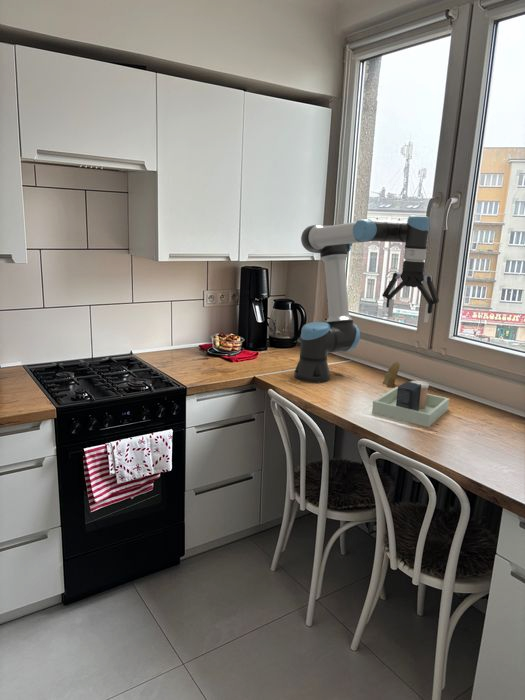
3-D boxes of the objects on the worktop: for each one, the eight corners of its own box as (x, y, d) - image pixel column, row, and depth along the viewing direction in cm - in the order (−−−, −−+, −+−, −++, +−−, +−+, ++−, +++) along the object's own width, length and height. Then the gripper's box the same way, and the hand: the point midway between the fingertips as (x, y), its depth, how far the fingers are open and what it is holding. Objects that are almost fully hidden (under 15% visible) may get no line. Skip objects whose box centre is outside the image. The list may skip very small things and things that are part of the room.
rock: (397, 386, 213) (408, 378, 220) (386, 367, 214) (398, 360, 221) (377, 396, 221) (389, 387, 228) (367, 378, 222) (378, 370, 229)
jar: (404, 406, 195) (407, 383, 193) (411, 401, 200) (413, 379, 198) (422, 410, 191) (425, 387, 189) (428, 406, 196) (431, 383, 194)
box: (403, 409, 192) (406, 381, 190) (418, 413, 189) (422, 384, 186) (394, 414, 186) (397, 385, 183) (409, 418, 183) (413, 389, 180)
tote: (371, 414, 187) (373, 401, 186) (395, 399, 205) (396, 386, 204) (428, 429, 176) (429, 415, 175) (447, 411, 194) (449, 398, 193)
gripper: (377, 258, 193) (371, 315, 198) (446, 264, 180) (438, 325, 185) (385, 257, 199) (379, 313, 204) (452, 263, 186) (445, 323, 191)
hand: (407, 319), depth 195 cm, fingers open, 13 cm apart
